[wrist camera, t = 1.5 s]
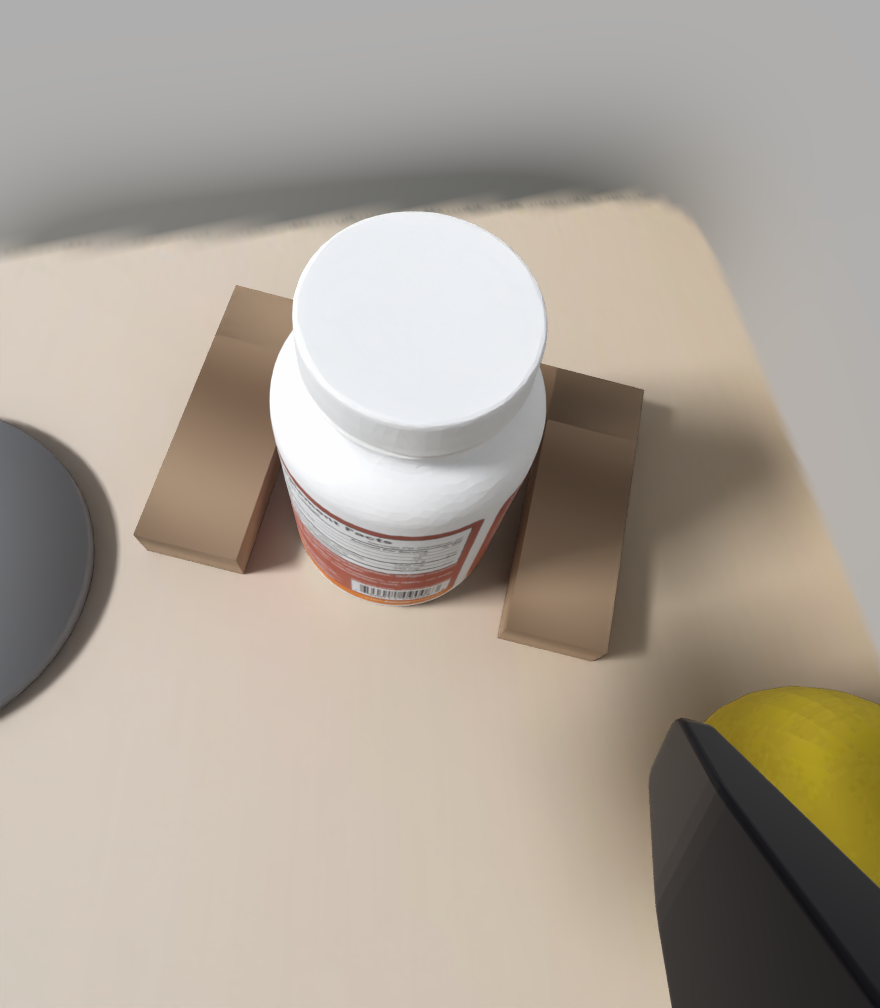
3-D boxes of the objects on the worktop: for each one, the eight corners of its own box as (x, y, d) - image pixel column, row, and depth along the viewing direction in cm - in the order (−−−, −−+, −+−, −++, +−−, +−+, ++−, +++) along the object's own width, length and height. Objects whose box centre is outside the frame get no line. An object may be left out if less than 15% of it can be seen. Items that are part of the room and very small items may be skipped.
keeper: (591, 661, 22) (607, 653, 21) (147, 550, 22) (133, 534, 21) (628, 411, 26) (644, 389, 24) (242, 312, 25) (236, 285, 24)
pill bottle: (408, 397, 25) (443, 128, 15) (528, 531, 24) (659, 339, 13) (257, 501, 23) (176, 276, 13) (378, 653, 22) (398, 538, 12)
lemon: (689, 941, 20) (886, 1035, 12) (604, 742, 22) (733, 721, 14) (851, 859, 21) (1120, 902, 14) (759, 677, 23) (954, 626, 15)
